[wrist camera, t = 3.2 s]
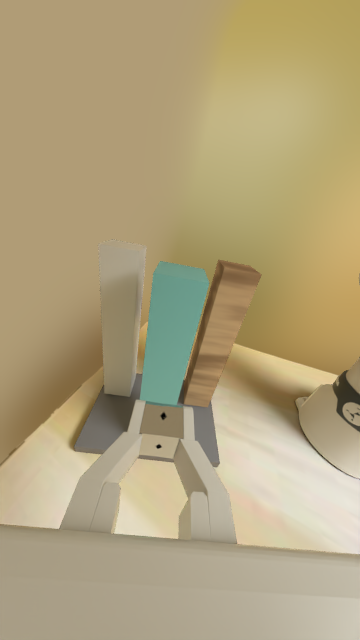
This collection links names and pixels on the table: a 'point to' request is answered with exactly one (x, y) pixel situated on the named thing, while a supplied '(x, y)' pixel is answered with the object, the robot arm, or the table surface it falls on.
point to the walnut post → (219, 329)
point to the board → (115, 417)
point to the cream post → (120, 312)
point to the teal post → (171, 329)
